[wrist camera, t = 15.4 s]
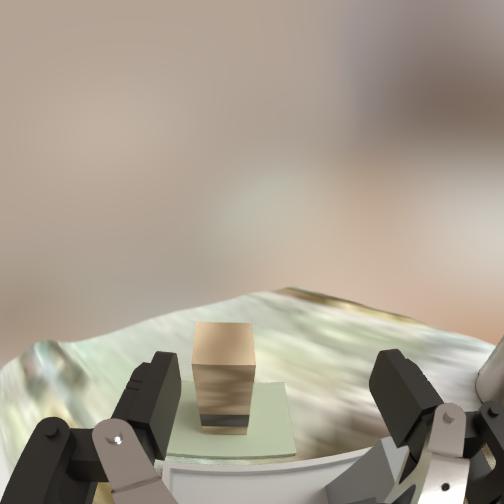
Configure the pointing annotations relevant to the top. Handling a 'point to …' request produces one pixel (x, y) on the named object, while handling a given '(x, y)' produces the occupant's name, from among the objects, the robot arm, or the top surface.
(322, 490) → the parts tray
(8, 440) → the top surface
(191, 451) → the pad
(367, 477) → the slate box
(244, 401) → the banded wooden block
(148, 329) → the top surface
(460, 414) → the robot arm
